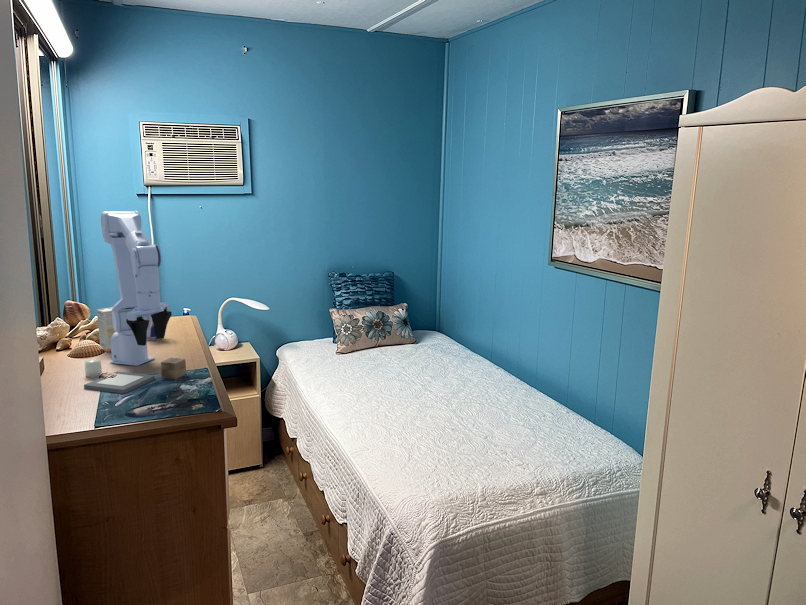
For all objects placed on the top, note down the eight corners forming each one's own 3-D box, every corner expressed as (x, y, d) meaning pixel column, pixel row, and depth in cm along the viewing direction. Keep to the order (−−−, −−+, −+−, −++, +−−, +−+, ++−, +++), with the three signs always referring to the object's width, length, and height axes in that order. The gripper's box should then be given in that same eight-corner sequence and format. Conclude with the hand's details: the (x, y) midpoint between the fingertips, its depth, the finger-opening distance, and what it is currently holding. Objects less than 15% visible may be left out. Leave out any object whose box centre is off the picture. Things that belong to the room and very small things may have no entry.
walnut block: (161, 377, 163) (160, 362, 162) (172, 373, 167) (171, 357, 166) (176, 379, 162) (175, 363, 161) (186, 374, 166) (185, 359, 165)
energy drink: (145, 341, 199) (142, 306, 197) (143, 337, 204) (141, 303, 201) (162, 339, 202) (160, 304, 199) (160, 336, 206) (158, 302, 204)
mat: (84, 388, 153) (83, 384, 153) (117, 374, 164) (117, 370, 164) (124, 393, 150) (123, 389, 150) (155, 379, 161) (154, 375, 161)
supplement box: (125, 344, 195) (122, 305, 192) (132, 347, 192) (129, 307, 189) (99, 349, 189) (96, 308, 186) (106, 352, 186) (103, 311, 183)
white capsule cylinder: (82, 376, 163) (80, 362, 162) (93, 372, 167) (92, 358, 166) (94, 377, 162) (93, 363, 161) (105, 373, 166) (104, 359, 165)
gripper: (143, 297, 149) (146, 349, 152) (178, 287, 163) (180, 336, 166) (118, 295, 151) (122, 347, 154) (155, 286, 165) (158, 334, 168)
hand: (151, 341), depth 160 cm, fingers open, 7 cm apart
